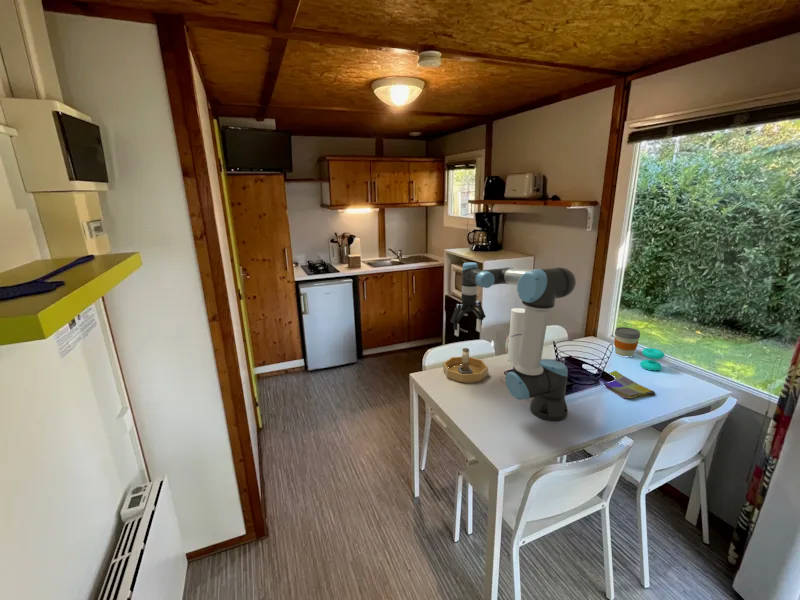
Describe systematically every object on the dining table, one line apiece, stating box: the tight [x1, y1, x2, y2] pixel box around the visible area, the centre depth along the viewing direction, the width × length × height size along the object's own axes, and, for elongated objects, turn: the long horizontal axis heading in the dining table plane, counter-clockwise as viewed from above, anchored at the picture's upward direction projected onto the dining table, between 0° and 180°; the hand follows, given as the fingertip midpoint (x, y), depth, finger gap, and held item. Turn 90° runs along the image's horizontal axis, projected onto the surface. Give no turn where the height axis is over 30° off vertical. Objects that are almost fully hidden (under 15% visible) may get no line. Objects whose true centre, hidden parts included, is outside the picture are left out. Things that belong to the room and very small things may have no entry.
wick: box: [461, 347, 470, 372], centre depth 198 cm, size 3×3×13 cm
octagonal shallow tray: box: [442, 356, 489, 384], centre depth 199 cm, size 22×22×5 cm
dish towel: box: [603, 370, 656, 400], centre depth 184 cm, size 18×24×3 cm
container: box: [507, 307, 525, 364], centre depth 210 cm, size 9×9×30 cm
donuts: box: [639, 347, 665, 372], centre depth 202 cm, size 10×10×10 cm
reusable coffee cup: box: [613, 326, 641, 356], centre depth 218 cm, size 13×13×15 cm
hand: (467, 333), depth 193 cm, fingers open, 13 cm apart
